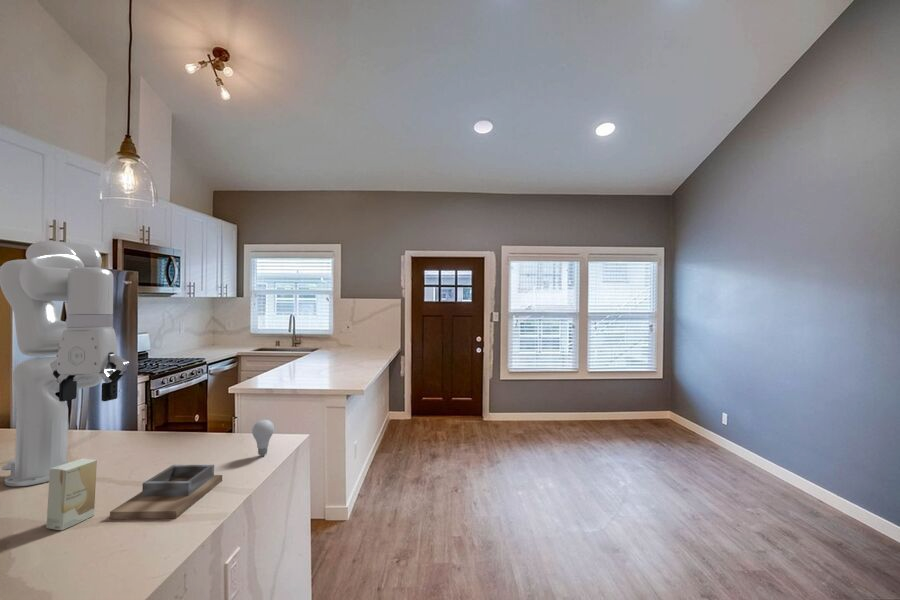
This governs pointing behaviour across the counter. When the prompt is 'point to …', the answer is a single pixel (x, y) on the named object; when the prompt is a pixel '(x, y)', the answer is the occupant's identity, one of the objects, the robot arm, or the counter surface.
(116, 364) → the robot arm
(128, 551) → the counter surface
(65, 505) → the skincare box
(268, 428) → the lightbulb
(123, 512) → the holder board
